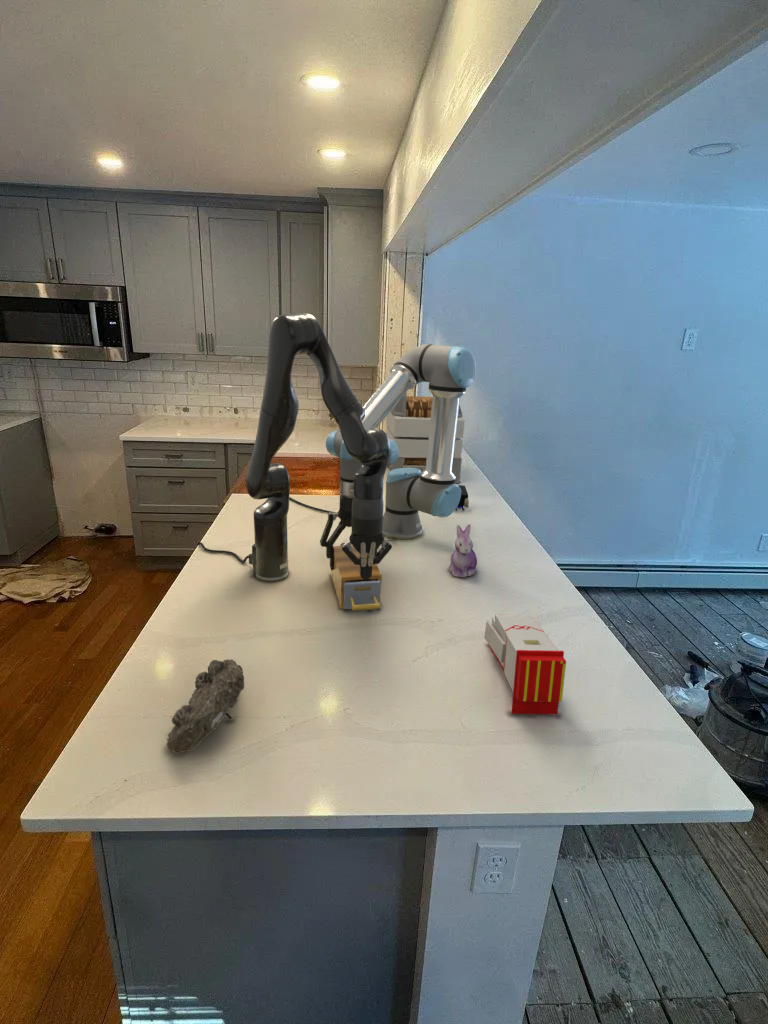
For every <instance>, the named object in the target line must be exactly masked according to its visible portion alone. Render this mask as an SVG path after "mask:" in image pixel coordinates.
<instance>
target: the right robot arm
mask: <svg viewBox="0 0 768 1024" xmlns="http://www.w3.org/2000/svg"><path fill="white" fill-rule="evenodd" d="M476 375H477V363H476V360H475V357H474V355H473V352H472V351H471V350H469V349H468V348H466V347H461V346H456V345H444V344H443V345H441V344H432V343H425V344H424V343H423V344H419V345H418V346H415V347H413V348H411V349H410V350H409V351H407V352H405V353H404V354H403V355H402V356H401V357H399V359H398V360H397V361H396V362H394V364H393V365H392V366H391V367H390V369H389V374H388V376H386V378H385V379H384V380H383V381H382V382H381V384H380V385H379V387H378V388H377V389H376V390H375V391H374V392H373V394H371V396H370V397H369V398H368V399H367V400H366V402H364V404H363V405H362V407H363V409H364V411H365V418H364V420H363V421H362V424H363V426H364V429H365V430H366V431H367V430H371V429H378V428H379V426H380V425H381V423H383V421H384V420H386V416H387V415H388V414H389V413H390V411H391V410H392V409H393V408H394V407H395V405H396V404H397V403H398V402H399V400H400V399H401V398H402V397H403V396H404V394H405V393H407V392H409V390H413V389H414V388H415V387H416V386H417V385H418V384H420V383H425V382H426V383H428V391H429V392H430V393H431V395H432V397H433V399H432V409H431V419H430V429H429V439H428V449H427V459H426V466H425V469H423V471H422V470H421V469H420V468H416V467H404V468H398V469H394V470H391V471H390V470H388V472H387V475H386V480H385V481H386V482H385V504H384V505H385V507H384V508H385V509H384V512H383V532H382V533H383V536H384V538H387V539H389V540H395V541H410V540H415V539H418V538H420V537H421V536H422V535H423V525H422V524H421V518H420V515H419V512H420V513H421V512H422V513H425V514H426V515H430V516H432V517H438V518H443V519H444V518H448V517H450V516H451V515H452V514H453V513H454V512H455V511H456V510H455V509H456V508H457V506H458V504H459V501H460V498H461V490H460V487H459V486H458V485H459V484H457V483H455V479H456V477H455V475H454V474H453V473H452V464H453V456H454V447H455V438H456V430H457V421H458V412H459V405H460V403H461V397H462V396H464V395H465V394H466V392H467V388H469V387H471V386H472V385H473V383H474V380H475V379H476ZM389 441H390V455H389V459H388V463H387V466H388V465H390V464H393V463H394V462H395V461H396V460H397V458H398V455H399V450H398V446H397V444H396V443H395V442H394V441H393V440H391V439H389ZM325 447H326V451H327V453H328V454H330V455H331V456H334V457H336V458H339V461H340V462H339V493H340V494H339V508H338V511H337V512H336V511H332V510H326V509H322V508H319V507H316V506H315V507H314V506H311V505H309V504H306V503H303V502H301V501H299V500H297V499H294V498H293V497H291V496H289V501H292V502H294V503H296V504H298V505H300V506H303V507H305V508H308V509H310V510H314V511H318V512H322V513H327V520H326V523H325V526H324V529H323V530H322V534H321V536H320V540H319V544H320V546H321V547H322V548H326V549H325V550H326V551H325V552H326V558H327V559H329V568H330V571H331V570H334V547H333V546H334V544H335V543H336V541H337V540H338V538H339V537H340V535H341V534H342V533H343V531H345V529H346V528H352V512H351V509H352V501H353V482H354V475H355V473H356V472H357V471H358V470H359V469H360V468H361V466H362V463H359V462H357V461H355V460H354V459H353V458H352V457H351V456H350V455H349V453H348V451H347V449H346V447H345V444H344V441H343V438H342V435H341V432H340V430H333V431H331V432H330V433H328V435H327V437H326V440H325ZM244 485H245V486H246V483H245V484H244ZM457 509H458V508H457ZM337 518H338V519H339V520H340V521H339V522H338V524H337V526H336V527H335V529H334V530H333V532H332V533H331V530H332V528H333V524H334V522H335V521H336V520H337ZM330 533H331V535H330ZM329 535H330V536H329ZM377 552H378V549H377V550H376V551H375V554H376V553H377ZM375 554H374V556H375Z"/></svg>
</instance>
